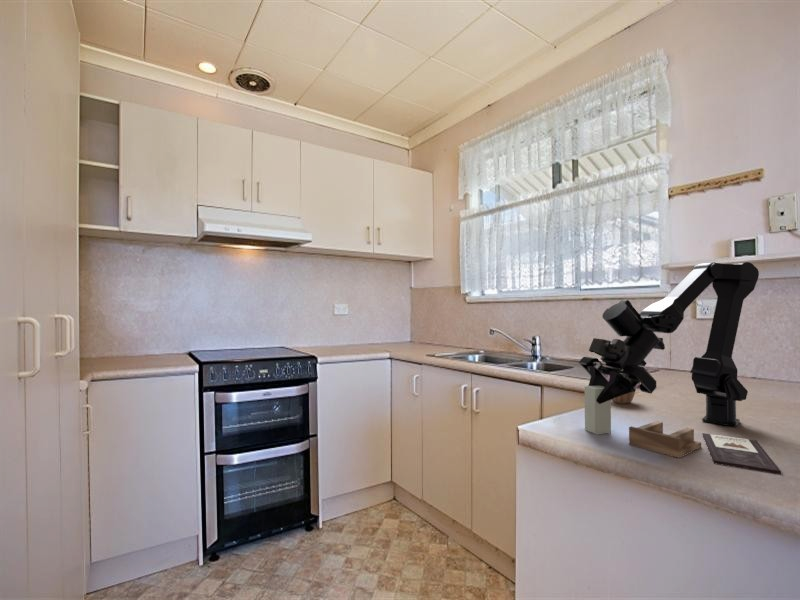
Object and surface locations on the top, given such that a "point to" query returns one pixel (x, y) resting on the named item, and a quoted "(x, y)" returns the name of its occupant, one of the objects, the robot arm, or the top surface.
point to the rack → (663, 439)
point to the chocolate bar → (739, 453)
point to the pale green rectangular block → (597, 411)
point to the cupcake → (624, 396)
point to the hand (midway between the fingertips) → (592, 400)
